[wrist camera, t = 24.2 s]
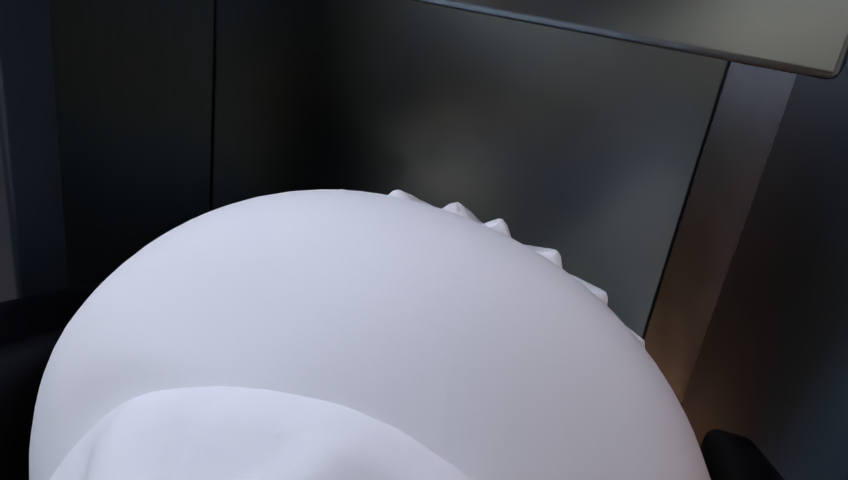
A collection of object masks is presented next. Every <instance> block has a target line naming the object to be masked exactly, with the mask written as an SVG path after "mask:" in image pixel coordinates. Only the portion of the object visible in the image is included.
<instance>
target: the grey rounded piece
mask: <svg viewBox="0 0 848 480" xmlns="http://www.w3.org/2000/svg"><path fill="white" fill-rule="evenodd" d="M607 303H608V297H607V293H606V292H605V291H603V290H602V289H600V288H598V287H596V286H594V285H592V284H590V283H588V282H586V281H584V280H582V279H580V278H578V277H576V276H573V275H571V274H569V273H567V272H566V271H565V270H563V269H562V260H561V256H560V254H559V252H558V251H557V250H555V249H551V248H543V247H536V246H531V245H523V244H521V243H520V242H518V241H516V240H514V239H512V238H511V235H510V232H509V229H508V226H507V224H506V223H505V222H504V220H503V219H499V218H498V219H495V220H492V221H489V222H486V223H484V224H483V223H482V222H481V221H480V220H478V219H477V218H476V216H475V215H474V214H473V213H472V212H471V211H469V210H468V209H467V208H465V207H464V206H463V205H462V204H460V203H459V202H455V203H450V204H448V205H447V206H445V207H444V208H442V209H440V208H437V207H434V206H432V205H430V204H428V203H426V202H424V201H422V200H419V199H418V198H416V197H415V196H413V195H410V194H408V193H406V192H403V191H401V190H394V191H392V192H391V193H390V194H389V195H384V194H378V193H371V192H364V191H352V190H345V189H339V190H337V189H319V190H303V191H289V192H283V193H277V194H271V195H265V196H259V197H254V198H251V199H247V200H244V201H240V202H236V203H233V204H229V205H226V206H223V207H221V208H218V209H215V210H213V211H210V212H207V213H205V214H202V215H200V216H198V217H195V218H193V219H191V220H189V221H187V222H185V223H183V224H181V225H179V226H177V227H175V228H174V229H172V230H170V231H168V232H167V233H165V234H163V235H161V236H160V237H158V238H157V239H155V240H154V241H152V242H151V243H149V244H148V245H146V246H145V247H143V248H142V249H141V250H140V251H138V252H137V253H136V254H134V255H133V256H132V257H130V258H129V259H128V260H127V261H125V262H124V263H123V264H122V265H121V266H120V267H118V268H117V269H116V270H115V271H114V272H113V273H112V274H111V275H110V276H108V277H107V278H106V279H105V280H104V281H103V282H102V283H101V284H100V285H99V286H98V287H97V288H96V289H95V290H94V292H93V293H92V294H91V295H90V296H89V297H88V298H87V300H86V301H85V302H84V303H83V305H82V306H81V307H80V308H79V310H78V311H77V312H76V313H75V315H74V316H73V318H72V319H71V320H70V322H69V323H68V324H67V326H66V327H65V329H64V331H63V333H62V334H61V336H60V338H59V340H58V341H57V343H56V345H55V347H54V349H53V351H52V354H51V356H50V358H49V361H48V363H47V366H46V368H45V371H44V374H43V377H42V380H41V383H40V387H39V391H38V395H37V400H36V404H35V409H34V416H33V423H32V430H31V437H30V448H29V480H711V479H710V476H709V473H708V470H707V467H706V464H705V461H704V458H703V455H702V452H701V450H700V447H699V444H698V442H697V439H696V436H695V434H694V431H693V429H692V427H691V425H690V423H689V420H688V418H687V416H686V414H685V412H684V410H683V408H682V406H681V404H680V403H679V401H678V399H677V397H676V395H675V393H674V391H673V390H672V388H671V386H670V385H669V383H668V382H667V380H666V379H665V377H664V375H663V374H662V372H661V371H660V369H659V368H658V366H657V364H656V363H655V362H654V360H653V359H652V358H651V356H650V355H649V354H648V352H647V351H646V350H645V340H643V339H642V338H641V337H640V336H638V335H637V334H636V333H635V332H633V331H632V330H631V329H630V328H628V327H627V326H626V325H625V324H624V323H623V322H622V321H621V320H620V319H619V318H618V316H617V315H616V314H615V313H614V312H613V311H612V310H611V309H610V308H609V307H608V306H607Z"/></svg>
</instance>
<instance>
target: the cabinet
mask: <svg viewBox="0 0 848 480" xmlns="http://www.w3.org/2000/svg"><path fill="white" fill-rule="evenodd" d="M67 288H69V280H68V265H67V249H66V234H65V219H64V204H63V189H62V174H61V158H60V143H59V128H58V113H57V98H56V83H55V67H54V52H53V37H52V22H51V7H50V0H0V302H3V301H8V300H13V299H18V298H23V297H28V296H33V295H38V294H42V293H47V292H52V291H57V290H62V289H67Z"/></svg>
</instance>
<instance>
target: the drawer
mask: <svg viewBox="0 0 848 480" xmlns="http://www.w3.org/2000/svg"><path fill="white" fill-rule="evenodd" d="M50 7H51V22H52V37H53V52H54V67H55V83H56V98H57V113H58V128H59V143H60V158H61V174H62V189H63V204H64V219H65V234H66V249H67V265H68V280H69V288H72V287H77V286H82V285H87V284H92V283H97V282H102V281H104V280H105V279H106V278H107V277H108V276H110V275H111V274H112V273H113V272H114V271H115V270H116V269H117V268H118V267H120V266H121V265H122V264H123V263H124V262H125V261H127V260H128V259H129V258H130V257H132V256H133V255H134V254H136V253H137V252H138V251H140V250H141V249H142V248H143V247H145V246H146V245H148V244H149V243H151V242H152V241H154V240H155V239H157V238H158V237H160V236H161V235H163V234H165V233H167V232H168V231H170V230H172V229H174V228H175V227H177V226H179V225H181V224H183V223H185V222H187V221H189V220H191V219H193V218H195V217H198V216H200V215H202V214H205V213H207V212H210V211H213V210H215V209H218V208H221V207H223V206H226V205H229V204H233V203H236V202H240V201H244V200H247V199H251V198H254V197H259V196H265V195H271V194H277V193H283V192H289V191H303V190H319V189H337V190H339V189H345V190H352V191H364V192H371V193H378V194H384V195H389V194H390V193H391V192H392V191H394V190H401V191H403V192H406V193H408V194H410V195H413V196H415V197H416V198H418V199H419V200H422V201H424V202H426V203H428V204H430V205H432V206H434V207H437V208H440V209H442V208H444V207H445V206H447V205H448V204H450V203H455V202H459V203H460V204H462V205H463V206H464V207H465V208H467V209H468V210H469V211H471V212H472V213H473V214H474V215H475V216H476V218H477V219H478V220H480V221H481V222H482V223H483V224H484V223H486V222H489V221H492V220H495V219H498V218H499V219H503V220H504V222H505V223H506V224H507V226H508V229H509V232H510V235H511V238H512V239H514V240H516V241H518V242H520V243H521V244H523V245H531V246H536V247H543V248H551V249H555V250H557V251H558V252H559V254H560V256H561V260H562V269H563V270H565V271H566V272H567V273H569V274H571V275H573V276H576V277H578V278H580V279H582V280H584V281H586V282H588V283H590V284H592V285H594V286H596V287H598V288H600V289H602V290H603V291H605V292H606V293H607V297H608V303H607V306H608V307H609V308H610V309H611V310H612V311H613V312H614V313H615V314H616V315H617V316H618V318H619V319H620V320H621V321H622V322H623V323H624V324H625V325H626V326H627V327H628V328H630V329H631V330H632V331H633V332H635V333H636V334H637V335H638V336H640V337H641V338H642V339H643V340H644V339H645V335H646V332H647V329H648V326H649V323H650V320H651V316H652V313H653V310H654V307H655V304H656V300H657V297H658V294H659V291H660V288H661V284H662V281H663V278H664V275H665V272H666V269H667V265H668V262H669V259H670V256H671V253H672V249H673V246H674V243H675V240H676V237H677V233H678V230H679V227H680V224H681V221H682V218H683V214H684V211H685V208H686V205H687V202H688V198H689V195H690V192H691V189H692V186H693V182H694V179H695V176H696V173H697V170H698V167H699V163H700V160H701V157H702V154H703V151H704V147H705V144H706V141H707V138H708V135H709V131H710V128H711V125H712V122H713V119H714V116H715V112H716V109H717V106H718V103H719V100H720V96H721V93H722V90H723V87H724V84H725V80H726V77H727V74H728V71H729V68H730V65H731V62H737V63H742V64H747V65H752V66H758V67H763V68H768V69H773V70H779V71H784V72H789V73H794V74H797V76H796V79H795V81H794V84H793V87H792V90H791V93H790V96H789V98H788V101H787V104H786V107H785V110H784V113H783V115H782V118H781V121H780V124H779V127H778V130H777V132H776V135H775V138H774V141H773V144H772V147H771V149H770V152H769V155H768V158H767V161H766V164H765V166H764V169H763V172H762V175H761V178H760V181H759V183H758V186H757V189H756V192H755V195H754V198H753V200H752V203H751V206H750V209H749V212H748V215H747V217H746V220H745V223H744V226H743V229H742V232H741V234H740V237H739V240H738V243H737V246H736V249H735V251H734V254H733V257H732V260H731V263H730V266H729V268H728V271H727V274H726V277H725V280H724V283H723V285H722V288H721V291H720V294H719V297H718V300H717V302H716V305H715V308H714V311H713V314H712V317H711V319H710V322H709V325H708V328H707V331H706V334H705V336H704V339H703V342H702V345H701V348H700V351H699V353H698V356H697V359H696V362H695V365H694V368H693V370H692V373H691V376H690V379H689V382H688V385H687V387H686V390H685V393H684V396H683V399H682V402H681V406H682V408H683V410H684V412H685V414H686V416H687V418H688V420H689V423H690V425H691V427H692V429H693V431H694V434H695V436H696V439H697V442H698V444H699V447H700V446H701V444H702V441H703V439H704V436H705V435H706V433H707V432H708V431H709V430H710V429H713V428H715V429H720V430H723V431H727V432H730V433H734V434H737V435H741V436H744V437H747V438H749V439H750V440H751V441H752V442H753V443H754V444H755V445H756V446H757V447H758V448H759V450H760V451H761V452H762V453H763V454H764V456H765V457H766V458H767V459H768V460H769V461H770V463H771V464H772V465H773V466H774V467H775V469H776V470H777V471H778V472H779V473H780V475H781V476H782V477H783V478H784V479H785V480H848V0H50Z"/></svg>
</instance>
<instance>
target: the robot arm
mask: <svg viewBox="0 0 848 480" xmlns="http://www.w3.org/2000/svg"><path fill="white" fill-rule="evenodd" d="M102 282H103V281H102ZM102 282H97V283H92V284H87V285H82V286H77V287H72V288H67V289H62V290H57V291H52V292H47V293H42V294H38V295H33V296H28V297H23V298H18V299H13V300H8V301H3V302H0V480H29V448H30V437H31V430H32V423H33V416H34V409H35V404H36V400H37V395H38V391H39V387H40V383H41V380H42V377H43V374H44V371H45V368H46V366H47V363H48V361H49V358H50V356H51V354H52V351H53V349H54V347H55V345H56V343H57V341H58V340H59V338H60V336H61V334H62V333H63V331H64V329H65V327H66V326H67V324H68V323H69V322H70V320H71V319H72V318H73V316H74V315H75V313H76V312H77V311H78V310H79V308H80V307H81V306H82V305H83V303H84V302H85V301H86V300H87V298H88V297H89V296H90V295H91V294H92V293H93V292H94V290H95V289H96V288H97V287H98V286H99V285H100V284H101V283H102ZM700 450H701V452H702V455H703V458H704V461H705V464H706V467H707V470H708V473H709V476H710V479H711V480H785V479H784V478H783V477H782V476H781V475H780V473H779V472H778V471H777V470H776V469H775V467H774V466H773V465H772V464H771V463H770V461H769V460H768V459H767V458H766V457H765V456H764V454H763V453H762V452H761V451H760V450H759V448H758V447H757V446H756V445H755V444H754V443H753V442H752V441H751V440H750V439H749V438H747V437H744V436H741V435H737V434H734V433H730V432H727V431H723V430H720V429H715V428H713V429H710V430H709V431H708V432H707V433H706V435H705V436H704V439H703V441H702V444H701V446H700Z"/></svg>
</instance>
